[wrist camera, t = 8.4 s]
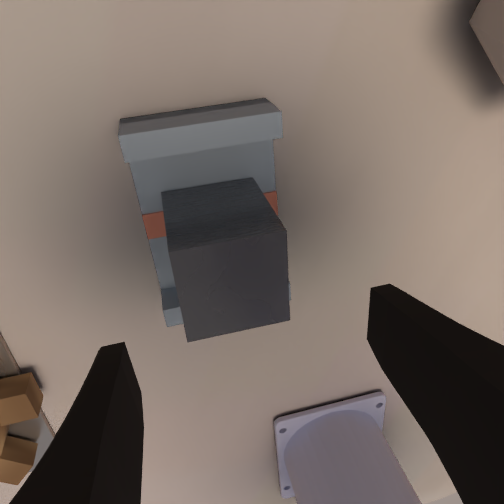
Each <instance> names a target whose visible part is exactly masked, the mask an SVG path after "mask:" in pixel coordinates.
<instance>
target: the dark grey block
mask: <svg viewBox="0 0 504 504" xmlns="http://www.w3.org/2000/svg"><path fill="white" fill-rule="evenodd" d="M161 197H162V205H163V213H164V221H165V229H166V237H167V245H168V253H169V257H170V262H171V267H172V272H173V276H174V281H175V286H176V290H177V295H178V300H179V304H180V309H181V314H182V318H183V323H184V328H185V332H186V337H187V342H191V341H196V340H201V339H205V338H210V337H214V336H219V335H224V334H228V333H233V332H237V331H242V330H247V329H251V328H256V327H261V326H265V325H270V324H274V323H279V322H284V321H288V320H290V307H289V281H288V256H287V231H286V229H285V227H284V226H283V224H282V223H281V221H280V219H279V218H278V216H277V215H276V213H275V211H274V210H273V208H272V207H271V205H270V204H269V202H268V200H267V199H266V197H265V196H264V194H263V192H262V191H261V189H260V188H259V186H258V184H257V183H256V181H255V180H254V178H253V177H252V178H246V179H240V180H234V181H227V182H221V183H215V184H209V185H203V186H196V187H190V188H184V189H178V190H172V191H166V192H161Z"/></svg>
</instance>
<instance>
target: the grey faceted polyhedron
mask: <svg viewBox="0 0 504 504" xmlns="http://www.w3.org/2000/svg"><path fill="white" fill-rule="evenodd" d="M469 23H470V25H471V27H472V29H473V31H474V32H475V34H476V36H477V38H478V40H479V42H480V43H481V45H482V47H483V49H484V51H485V52H486V54H487V56H488V58H489V60H490V61H491V63H492V65H493V67H494V69H495V70H496V72H497V74H498V76H499V78H500V79H501V81H502V83H503V85H504V0H480V2H479V4H478V6H477V8H476V10H475V11H474V13H473V15H472V17H471V19H470V21H469Z"/></svg>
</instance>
